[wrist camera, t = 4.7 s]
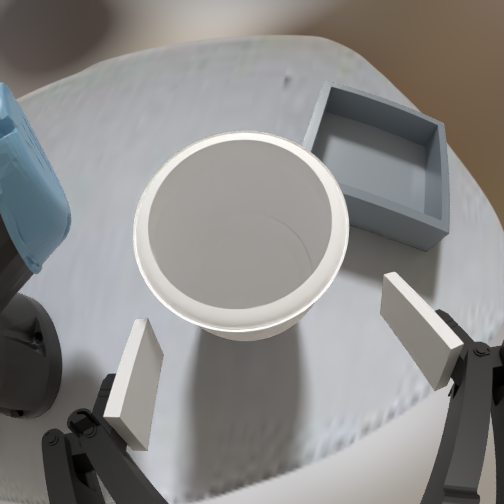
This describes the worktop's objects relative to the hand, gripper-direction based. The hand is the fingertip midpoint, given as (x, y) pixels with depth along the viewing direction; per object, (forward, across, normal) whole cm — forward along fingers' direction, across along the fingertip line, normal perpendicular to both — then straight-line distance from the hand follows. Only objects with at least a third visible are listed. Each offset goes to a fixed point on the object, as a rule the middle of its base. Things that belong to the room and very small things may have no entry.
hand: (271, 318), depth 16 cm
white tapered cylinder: (+11, -1, -5) cm, 12 cm away
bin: (+19, +15, +3) cm, 24 cm away
